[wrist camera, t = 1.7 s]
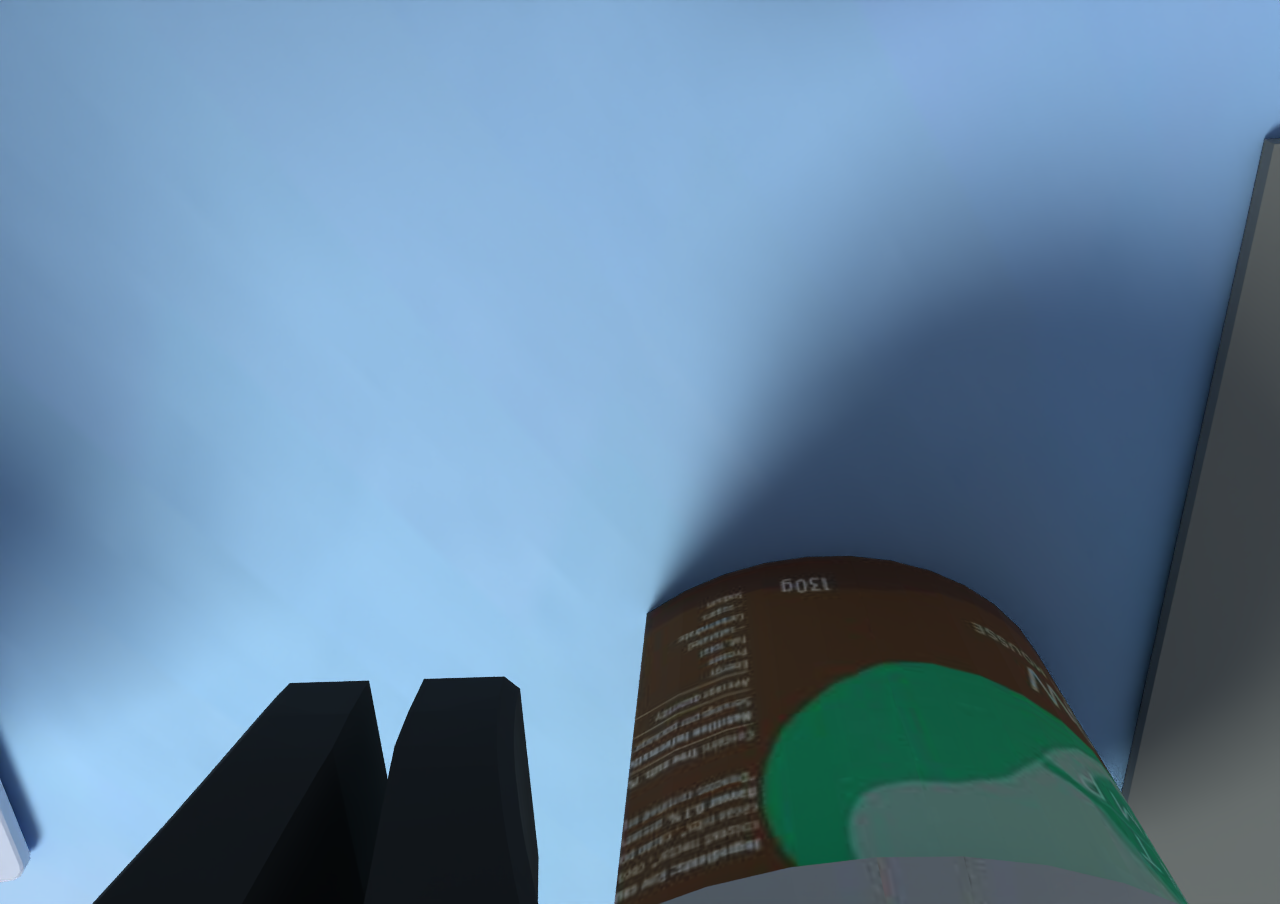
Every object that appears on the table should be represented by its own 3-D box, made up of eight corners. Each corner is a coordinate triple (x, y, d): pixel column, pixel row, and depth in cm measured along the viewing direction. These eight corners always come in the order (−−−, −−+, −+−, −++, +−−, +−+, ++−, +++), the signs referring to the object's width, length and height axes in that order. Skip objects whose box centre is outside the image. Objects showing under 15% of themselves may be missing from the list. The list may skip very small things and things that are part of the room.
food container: (1235, 785, 23) (1593, 1371, 15) (972, 922, 25) (1151, 1515, 17) (877, 354, 19) (1086, 831, 10) (591, 562, 21) (558, 1114, 12)
